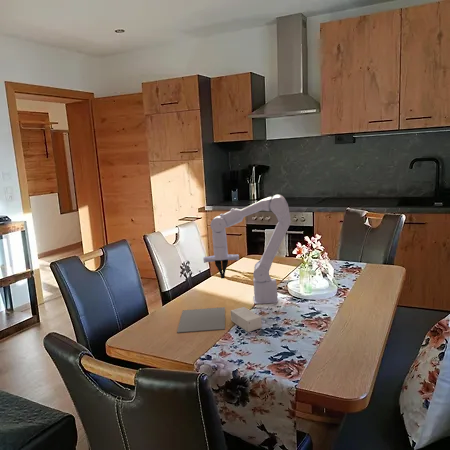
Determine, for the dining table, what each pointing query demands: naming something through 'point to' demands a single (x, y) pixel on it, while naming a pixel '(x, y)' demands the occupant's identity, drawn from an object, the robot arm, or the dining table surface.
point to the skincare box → (246, 319)
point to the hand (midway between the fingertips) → (222, 277)
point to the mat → (202, 320)
